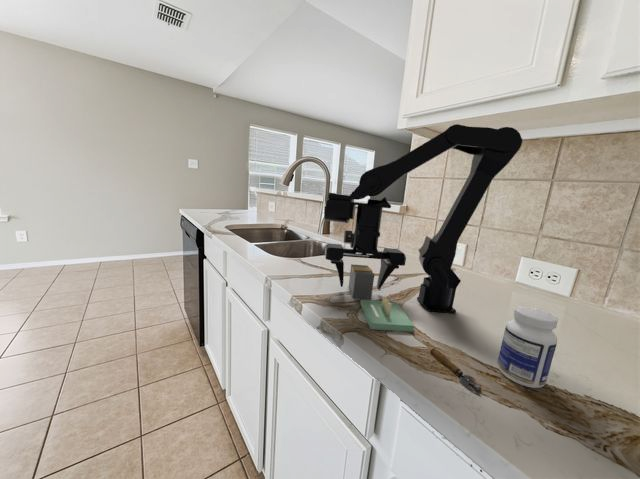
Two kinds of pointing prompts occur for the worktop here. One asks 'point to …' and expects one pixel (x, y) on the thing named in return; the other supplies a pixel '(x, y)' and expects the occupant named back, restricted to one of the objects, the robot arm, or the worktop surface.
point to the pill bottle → (528, 347)
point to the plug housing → (361, 281)
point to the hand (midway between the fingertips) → (359, 287)
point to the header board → (386, 315)
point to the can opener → (456, 371)
